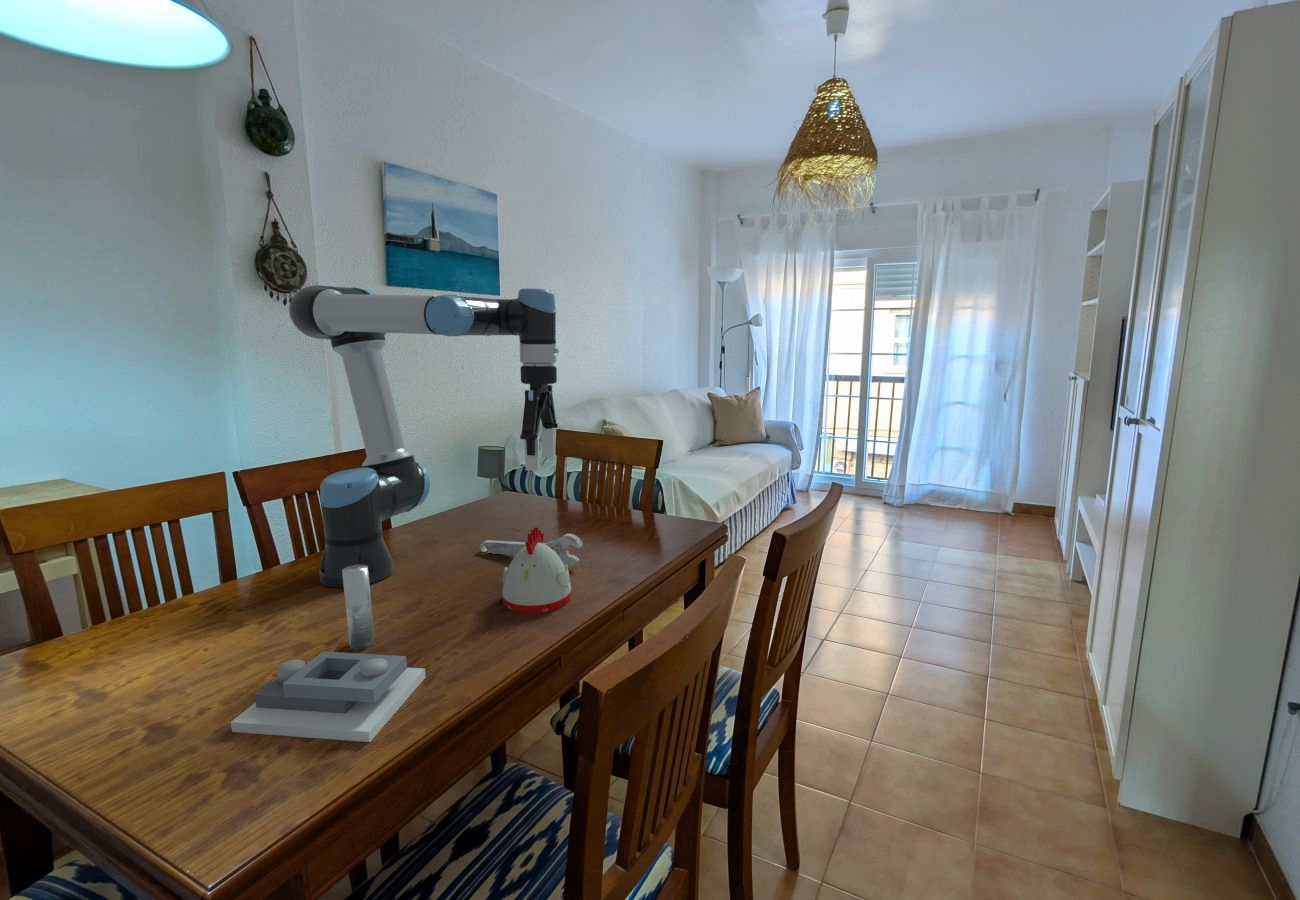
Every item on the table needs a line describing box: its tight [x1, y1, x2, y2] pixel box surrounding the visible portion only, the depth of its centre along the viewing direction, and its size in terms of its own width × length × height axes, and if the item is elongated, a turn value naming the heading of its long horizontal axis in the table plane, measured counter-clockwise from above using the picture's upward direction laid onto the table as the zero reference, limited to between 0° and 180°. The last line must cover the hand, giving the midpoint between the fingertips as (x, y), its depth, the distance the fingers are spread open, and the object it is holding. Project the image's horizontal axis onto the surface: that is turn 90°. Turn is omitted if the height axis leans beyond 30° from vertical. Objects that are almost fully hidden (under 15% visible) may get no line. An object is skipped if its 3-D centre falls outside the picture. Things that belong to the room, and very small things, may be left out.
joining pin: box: [342, 564, 376, 651], centre depth 108 cm, size 4×4×14 cm
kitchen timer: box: [502, 526, 572, 614], centre depth 127 cm, size 14×14×15 cm
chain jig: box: [230, 650, 426, 743], centre depth 92 cm, size 20×16×6 cm
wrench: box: [479, 533, 584, 566], centre depth 149 cm, size 8×2×30 cm
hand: (540, 463), depth 135 cm, fingers open, 13 cm apart
